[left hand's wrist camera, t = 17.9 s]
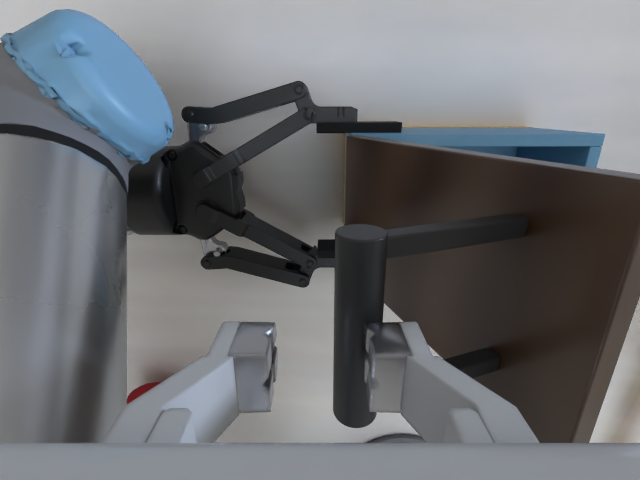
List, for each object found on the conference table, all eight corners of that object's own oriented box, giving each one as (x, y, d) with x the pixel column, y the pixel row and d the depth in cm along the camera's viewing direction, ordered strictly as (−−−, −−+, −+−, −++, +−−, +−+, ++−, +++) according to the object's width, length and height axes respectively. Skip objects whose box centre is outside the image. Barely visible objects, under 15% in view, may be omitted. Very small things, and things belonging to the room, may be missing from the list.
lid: (682, 179, 9) (413, 209, 6) (582, 463, 12) (382, 557, 10) (359, 135, 25) (246, 138, 22) (355, 263, 28) (256, 278, 26)
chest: (525, 126, 35) (605, 134, 25) (507, 222, 38) (572, 262, 28) (345, 127, 35) (352, 134, 25) (343, 221, 39) (348, 261, 28)
